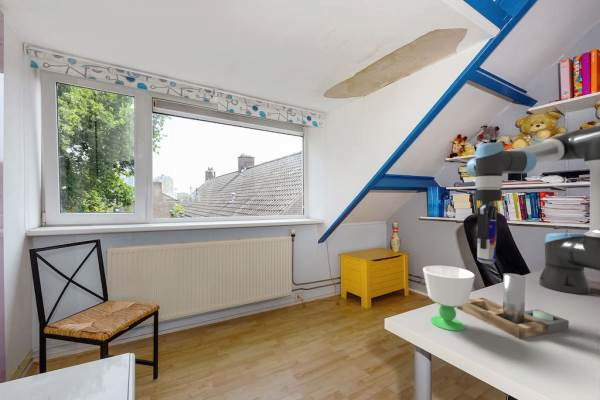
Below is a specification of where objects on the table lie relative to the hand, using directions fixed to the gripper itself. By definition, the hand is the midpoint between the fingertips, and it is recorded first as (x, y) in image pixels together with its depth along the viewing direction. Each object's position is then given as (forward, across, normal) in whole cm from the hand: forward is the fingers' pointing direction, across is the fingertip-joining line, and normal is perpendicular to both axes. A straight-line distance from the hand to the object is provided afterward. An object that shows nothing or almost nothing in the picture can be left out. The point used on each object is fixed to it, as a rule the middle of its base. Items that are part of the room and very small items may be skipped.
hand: (486, 257), depth 91 cm
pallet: (+18, +7, +5) cm, 20 cm away
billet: (+18, +9, +9) cm, 22 cm away
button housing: (+17, +1, +15) cm, 23 cm away
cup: (+18, +22, -4) cm, 29 cm away
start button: (+17, +1, +15) cm, 22 cm away
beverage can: (+2, 0, 0) cm, 2 cm away
